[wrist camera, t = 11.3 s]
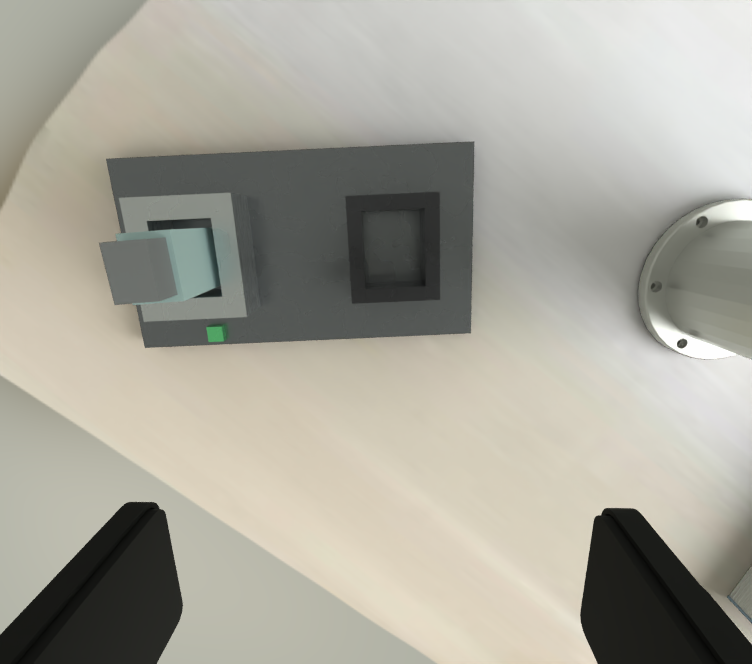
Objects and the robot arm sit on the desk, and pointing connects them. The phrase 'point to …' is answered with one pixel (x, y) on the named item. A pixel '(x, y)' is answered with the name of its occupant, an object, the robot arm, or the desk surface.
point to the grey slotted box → (743, 595)
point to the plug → (161, 265)
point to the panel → (312, 241)
